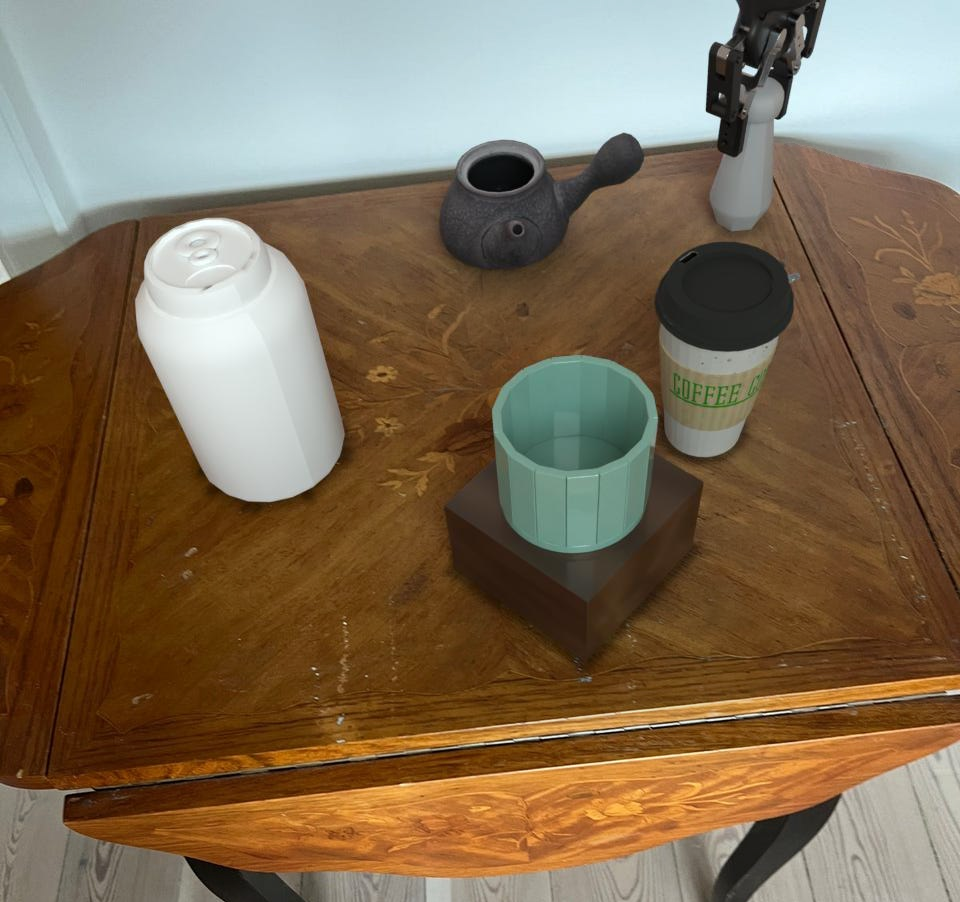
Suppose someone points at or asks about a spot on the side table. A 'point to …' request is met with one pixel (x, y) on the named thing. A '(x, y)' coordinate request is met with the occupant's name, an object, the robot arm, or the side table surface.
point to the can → (239, 359)
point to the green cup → (574, 452)
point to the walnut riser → (573, 559)
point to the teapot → (522, 200)
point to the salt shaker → (749, 165)
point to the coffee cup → (717, 340)
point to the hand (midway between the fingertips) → (751, 133)
